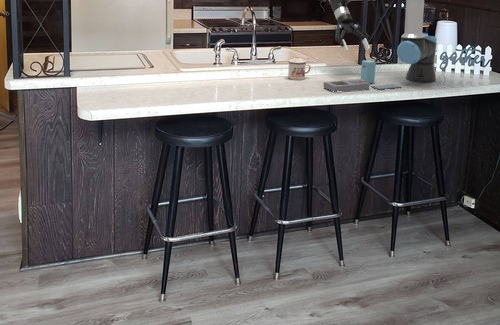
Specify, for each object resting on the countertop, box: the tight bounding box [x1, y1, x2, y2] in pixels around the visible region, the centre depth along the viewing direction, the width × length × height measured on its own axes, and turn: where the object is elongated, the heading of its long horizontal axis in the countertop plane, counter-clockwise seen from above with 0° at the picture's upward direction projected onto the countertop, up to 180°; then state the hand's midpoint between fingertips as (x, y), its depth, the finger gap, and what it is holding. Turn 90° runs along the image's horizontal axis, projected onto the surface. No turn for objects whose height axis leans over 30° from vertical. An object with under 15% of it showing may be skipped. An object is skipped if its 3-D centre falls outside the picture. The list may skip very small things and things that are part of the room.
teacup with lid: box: [287, 55, 312, 81], centre depth 335 cm, size 12×9×12 cm
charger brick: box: [359, 59, 377, 84], centre depth 329 cm, size 5×5×11 cm
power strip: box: [322, 78, 371, 93], centre depth 316 cm, size 20×10×4 cm, turn 116°
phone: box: [369, 83, 402, 91], centre depth 321 cm, size 14×7×1 cm, turn 117°
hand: (357, 50), depth 335 cm, fingers open, 13 cm apart
